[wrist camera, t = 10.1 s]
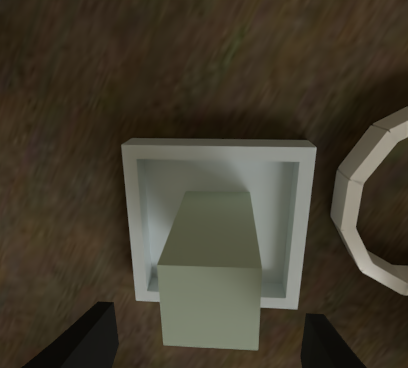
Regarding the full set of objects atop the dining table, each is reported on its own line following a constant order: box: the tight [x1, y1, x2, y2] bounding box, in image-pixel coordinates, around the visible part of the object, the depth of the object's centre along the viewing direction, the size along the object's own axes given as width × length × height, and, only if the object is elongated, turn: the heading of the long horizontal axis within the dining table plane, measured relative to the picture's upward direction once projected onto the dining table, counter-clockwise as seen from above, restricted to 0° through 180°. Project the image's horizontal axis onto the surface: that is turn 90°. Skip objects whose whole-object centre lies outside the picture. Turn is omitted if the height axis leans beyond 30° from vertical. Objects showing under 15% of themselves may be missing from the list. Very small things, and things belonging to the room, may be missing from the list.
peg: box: [157, 191, 262, 350], centre depth 16 cm, size 4×4×8 cm
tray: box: [121, 138, 317, 309], centre depth 19 cm, size 11×11×2 cm
